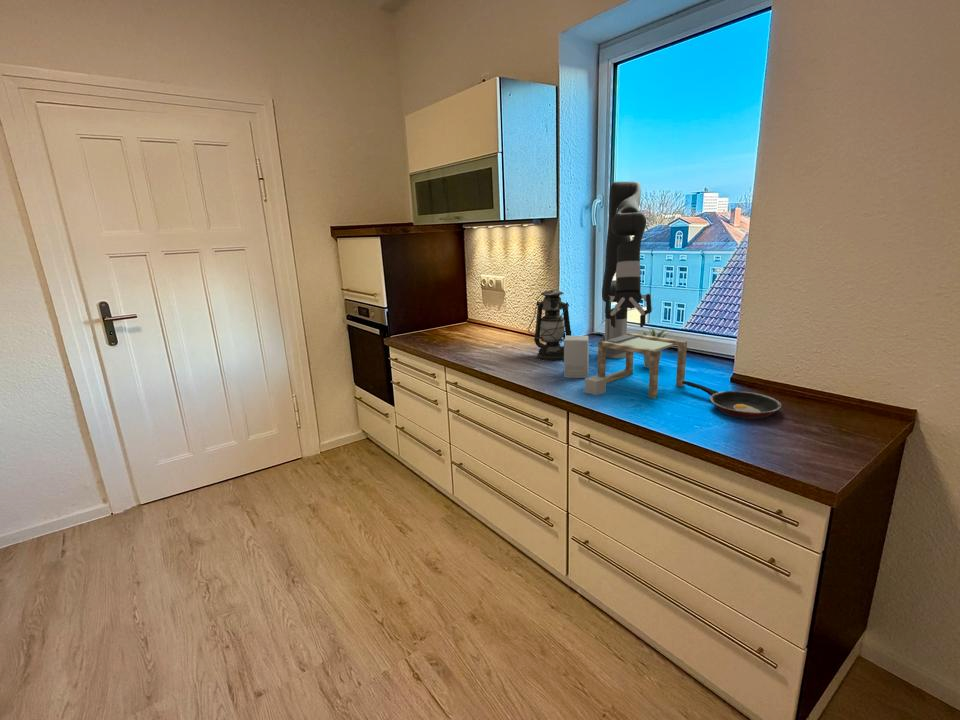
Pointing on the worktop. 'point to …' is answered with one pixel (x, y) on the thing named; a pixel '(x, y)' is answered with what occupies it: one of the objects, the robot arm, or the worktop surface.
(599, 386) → the cube
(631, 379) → the worktop surface
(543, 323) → the lantern
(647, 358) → the house plant
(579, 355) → the supplement box
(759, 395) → the frying pan
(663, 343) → the trapdoor
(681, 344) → the frame
